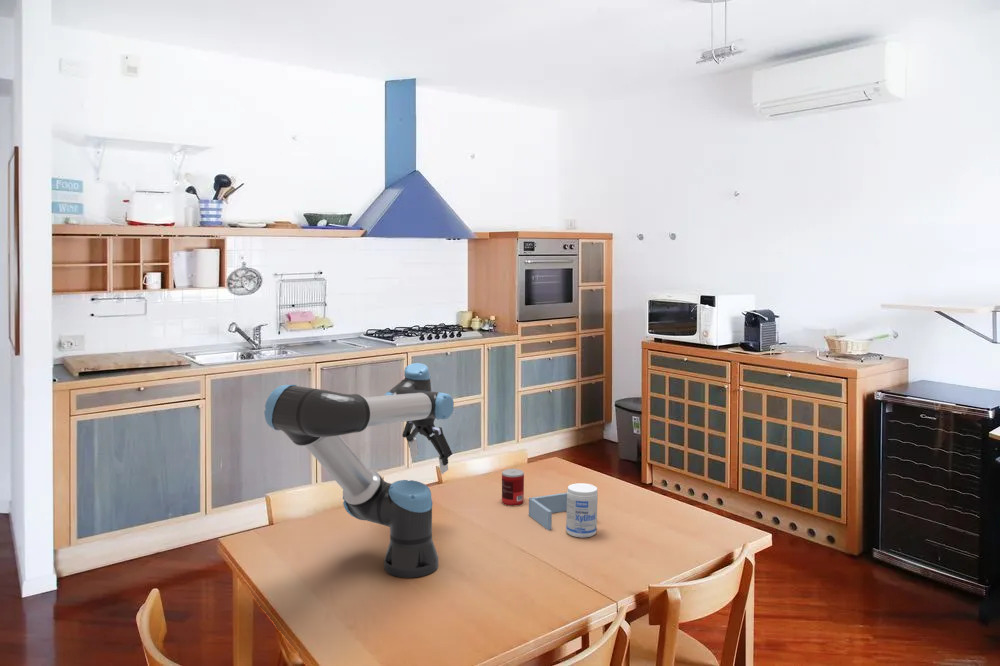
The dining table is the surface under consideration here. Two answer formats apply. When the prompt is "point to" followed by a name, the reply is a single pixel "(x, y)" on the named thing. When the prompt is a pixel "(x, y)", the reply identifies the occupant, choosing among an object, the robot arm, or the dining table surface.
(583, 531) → the supplement tub
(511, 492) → the canned food
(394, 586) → the dining table surface
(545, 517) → the bay
